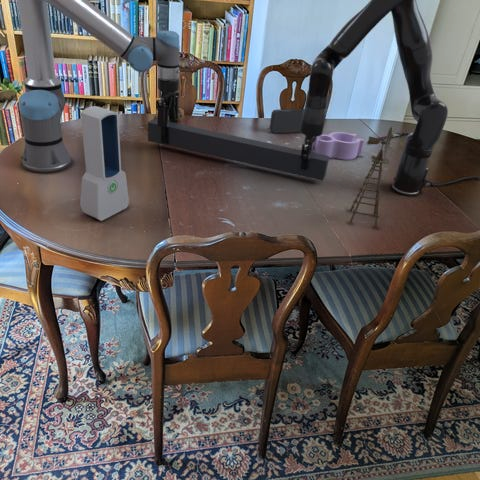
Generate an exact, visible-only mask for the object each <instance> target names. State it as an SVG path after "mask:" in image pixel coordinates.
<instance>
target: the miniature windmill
mask: <svg viewBox="0 0 480 480" xmlns="http://www.w3.org/2000/svg"><path fill="white" fill-rule="evenodd" d="M392 135H393V126H390V127H389V129H388V131H387V134H386V136H387V138H385V139H381V140H379V139H377V138H378V137H373V136H368V140H367V145H378V144H381V148H380V149H379V151H378V153H377V155H371V158H370V159H371V162H372V163H371V167H370V169H369V170H368V173H367V175H366V176H365V177H364V181H363V182H362V184H361V186H360V188H359V189H358V193H357V194H356V196H355V199H354V200H353V201H352V205H351V207H350V209H349V212H352V215H351V217H350V220H349V224H352V223H353V220H354V218H355V216H356V214H358V215H359V214H360V215H364V216H370V217H375V218H374V228H377V226H378V218H379V217H380V215H379V203H380V200H381V198H380V189H381V185H382V182H381V181H382V172H383V164H384V165H386V164H387V165H389V164H390V161H389V158H388V157H387V154H388V150H389V149H390V148H389V146H390V145H391V141H392V137H391V136H392ZM383 147H384V148H383ZM383 150H384V151H383ZM376 168H379V169H376ZM374 171H375V172H378V176H377V177H374V176H373V174H374ZM371 179H372V180H377V183H373V182H370V181H371ZM369 185H372V186H376V189H370V188H368V186H369ZM366 191H367V192H373V193H375V197H372V196H371V197H370V196H364V195H365V193H366ZM363 199H367V200H368V199H369V200H374V201H375V202H374V203H368V202H362V200H363ZM360 204H362V205H367V206H368V205H369V206H373V207H374V209H373V214H372V213H365V212H360V211H358V209H359V206H360ZM355 205H356V206H355Z"/></svg>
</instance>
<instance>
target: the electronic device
mask: <svg viewBox="0 0 480 480" xmlns="http://www.w3.org/2000/svg"><path fill="white" fill-rule="evenodd" d="M119 119H120V118H119V113H118V112H117V111H116V112H115V111H113V110H110V109H107V108H104V107H101V106H96V105H94V106H93V105H91V106H88V107H86V108H84V109H83V110H82V111H81V112H80V120H81V131H82V132H81V133H82V142H83V152H84V153H83V155H84V163H85V172H84V174H83V176H82V177H81V186H80V187H81V188H80V200H79V201H80V203H79V206H80V208H81V211H82V212H83V213H84V214H85V215H88V216H89V217H92V218H94V219H96V220H99V221H101V222H102V221H104V220H106V219H108V218H110V217H112V216H114V215H116V214H117V213H120V212H121V211H124V210H125V209H127V208H128V206H129V204H130V198H129V189H128V181H127V175H126V172H125V171H124V170H122V159H121V158H122V157H121V139H120V137H121V136H120V120H119Z"/></svg>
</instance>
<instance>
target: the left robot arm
mask: <svg viewBox="0 0 480 480" xmlns="http://www.w3.org/2000/svg"><path fill="white" fill-rule="evenodd" d="M48 5H49V6H51V7H53V9H55V10H57V11H58V12H59V13H61V14H62V15H63V16H65V18H67V19H69V20H70V21H72V23H74V24H75V25H76V26H78V27H79V28H81V29H82V30H84V31H85V32H86V33H88V34H89V35H90V36H91V37H93V38H95V39H96V40H97V41H99V42H100V43H101V44H103V45H104V46H106V47H107V48H108V49H110V50H111V51H112V52H114V53H115V54H116V55H118V57H120V58H121V59H123V60H124V61H125V62H126V63H128V65H129V66H130V68H131V69H132V70H134V71H135V72H138V73H145V72H147V71H149V70H151V68H152V66H153V64H154V63H153V62H155V61H157V89H158V90H159V91H160V99H157V100H156V105H157V106H156V107H157V114H158V126H160V127H161V143H165V144H168V127H167V124H168V122H172V123H175V122H178V120H177V119H178V108H179V99H180V98H179V97H180V92H178V91H179V89H180V79H179V78H180V72H181V71H180V51H181V50H180V49H181V46H180V35H179V33H178V32H176V31H174V30H165V29H164V30H158V31H157V34H156V36H139V35H132V33H130V32H129V31H128V30H126V29H125V27H122V26H121V25H120V24H119V23H118V22H117V21H115V20H114V19H112V18H111V17H110V16H109V15H107V14H106V13H105V12H104V11H102V10H101V9H99V8H98V7H97V6H95V4H93V3H92V2H90V0H17V6H18V7H17V8H18V14H19V23H20V28H21V35H22V41H23V49H24V55H25V62H26V71H27V75H28V76H27V77H26V78H25V80H24V82H23V83H24V88H25V92H23V93H22V94H20V96H19V98H18V109H19V110H18V111H19V113H20V119H21V125H22V132H23V137H24V148H23V153H22V156H21V157H20V158H21V159H22V160H21V161H22V166H23V168H24V169H25V170H27V171H29V172H33V173H39V174H46V173H56V172H61V171H63V170H66V169H67V168H69V167H70V166H71V163H72V159H71V155H70V153H69V151H68V150H67V149H68V148H67V147H66V145H65V143H64V140H63V132H62V123H61V119H62V115H63V112H64V110H65V107H66V98H65V94H64V92H63V86H62V81H61V80H60V78H59V77H58V76H56V75H57V74H56V67H55V58H54V50H53V49H54V48H53V43H52V42H53V39H52V30H51V23H50V13H49V6H48ZM168 115H169V121H168Z"/></svg>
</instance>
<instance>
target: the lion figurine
mask: <svg viewBox="0 0 480 480" xmlns="http://www.w3.org/2000/svg"><path fill="white" fill-rule="evenodd" d="M184 118H185V110H184V109H183V108H180V107H178V119H177V120H178V122H175V123H177V124H181V122H182V121H183V120H184ZM153 119H158V113H157V114H155V115H154V116H153ZM168 121H169V115H168Z"/></svg>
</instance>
